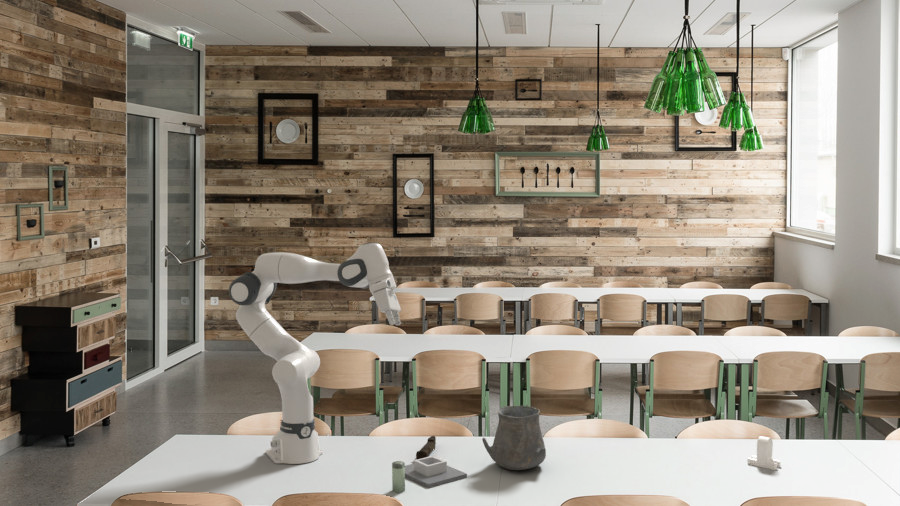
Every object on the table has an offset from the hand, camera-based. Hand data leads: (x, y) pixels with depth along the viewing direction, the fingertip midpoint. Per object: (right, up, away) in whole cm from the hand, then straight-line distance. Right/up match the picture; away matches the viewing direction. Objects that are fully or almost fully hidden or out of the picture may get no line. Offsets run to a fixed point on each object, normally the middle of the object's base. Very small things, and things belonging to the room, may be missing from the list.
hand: (395, 324), depth 279 cm
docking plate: (+12, -51, -2) cm, 52 cm away
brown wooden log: (+10, -50, +22) cm, 55 cm away
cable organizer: (+128, -50, +6) cm, 138 cm away
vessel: (+43, -50, +7) cm, 67 cm away
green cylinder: (+2, -52, -17) cm, 55 cm away
